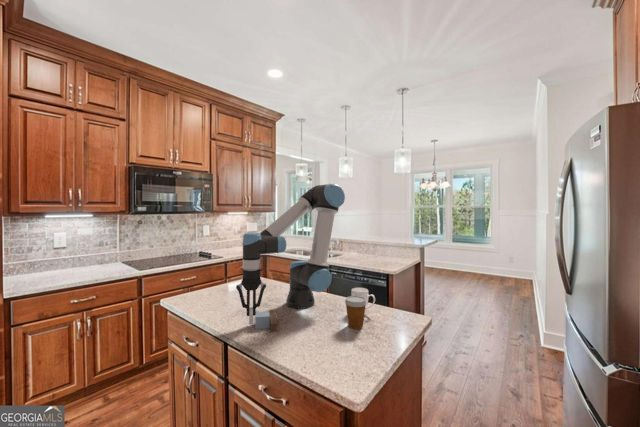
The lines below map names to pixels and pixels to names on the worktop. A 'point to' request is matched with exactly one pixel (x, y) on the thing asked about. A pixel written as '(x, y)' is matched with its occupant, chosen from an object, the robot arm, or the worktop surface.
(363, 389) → the worktop surface
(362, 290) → the mug
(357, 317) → the disposable coffee cup
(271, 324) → the narrow bar
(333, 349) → the worktop surface
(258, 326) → the block
